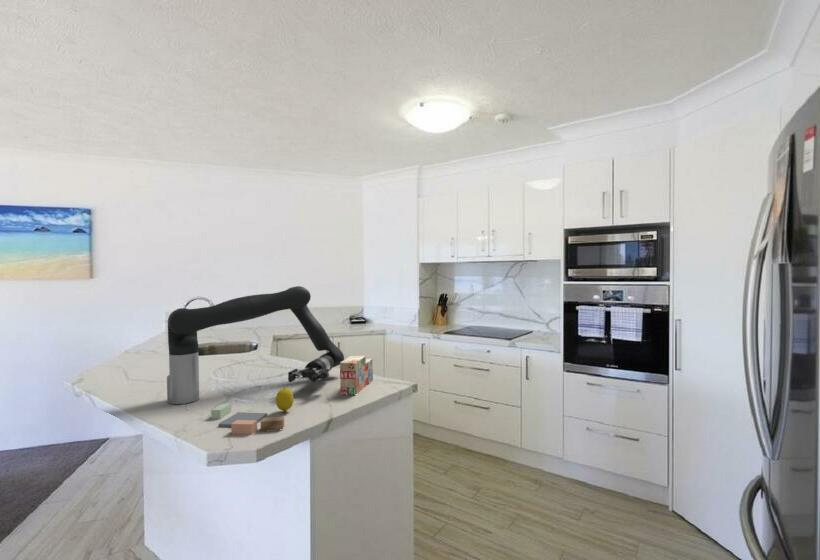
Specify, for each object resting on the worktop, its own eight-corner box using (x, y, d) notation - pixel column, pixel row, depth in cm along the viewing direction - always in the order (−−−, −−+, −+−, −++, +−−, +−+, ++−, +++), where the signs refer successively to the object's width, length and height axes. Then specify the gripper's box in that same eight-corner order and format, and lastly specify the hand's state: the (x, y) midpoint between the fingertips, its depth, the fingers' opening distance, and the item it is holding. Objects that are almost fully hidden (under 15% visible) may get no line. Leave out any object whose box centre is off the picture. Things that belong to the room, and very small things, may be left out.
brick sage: (220, 419, 122) (220, 410, 122) (211, 419, 122) (211, 409, 122) (231, 412, 128) (231, 403, 128) (222, 412, 128) (222, 403, 128)
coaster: (218, 426, 115) (218, 423, 115) (238, 414, 125) (237, 412, 125) (250, 427, 114) (250, 425, 114) (267, 415, 124) (267, 413, 124)
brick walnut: (260, 432, 111) (260, 421, 111) (263, 428, 114) (262, 418, 114) (282, 430, 112) (282, 420, 112) (284, 426, 115) (284, 416, 115)
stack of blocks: (359, 380, 166) (358, 351, 166) (373, 380, 165) (372, 351, 165) (340, 395, 145) (339, 361, 145) (356, 395, 144) (355, 362, 144)
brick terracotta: (231, 434, 110) (231, 423, 110) (237, 430, 113) (237, 419, 113) (251, 435, 109) (251, 424, 109) (257, 430, 112) (256, 420, 112)
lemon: (297, 410, 128) (297, 386, 128) (284, 415, 123) (283, 390, 123) (285, 408, 131) (285, 384, 131) (272, 413, 126) (271, 388, 126)
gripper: (300, 359, 156) (281, 368, 140) (334, 359, 154) (319, 369, 138) (301, 377, 156) (282, 389, 140) (335, 377, 155) (320, 390, 138)
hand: (301, 379), depth 139 cm, fingers open, 8 cm apart
